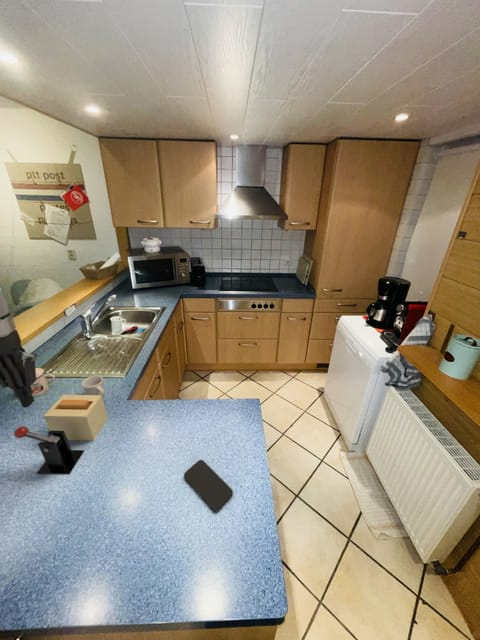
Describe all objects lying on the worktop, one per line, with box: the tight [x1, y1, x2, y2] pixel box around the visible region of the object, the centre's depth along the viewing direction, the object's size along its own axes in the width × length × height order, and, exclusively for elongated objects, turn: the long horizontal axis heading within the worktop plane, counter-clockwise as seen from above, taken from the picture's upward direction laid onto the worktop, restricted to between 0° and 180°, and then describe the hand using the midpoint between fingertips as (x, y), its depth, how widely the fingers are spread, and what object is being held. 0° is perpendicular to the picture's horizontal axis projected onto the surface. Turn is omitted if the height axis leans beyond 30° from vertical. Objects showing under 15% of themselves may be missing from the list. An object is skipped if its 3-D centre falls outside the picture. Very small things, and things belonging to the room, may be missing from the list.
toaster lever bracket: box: [35, 430, 85, 475], centre depth 77 cm, size 10×8×12 cm
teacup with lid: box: [31, 367, 56, 398], centre depth 108 cm, size 12×9×12 cm
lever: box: [13, 425, 61, 445], centre depth 74 cm, size 12×3×3 cm, turn 91°
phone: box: [183, 459, 234, 513], centre depth 74 cm, size 7×1×15 cm
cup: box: [81, 374, 106, 398], centre depth 105 cm, size 11×8×8 cm
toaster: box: [43, 394, 109, 441], centre depth 89 cm, size 14×10×12 cm
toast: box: [58, 400, 90, 410], centre depth 88 cm, size 9×2×11 cm, turn 90°
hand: (28, 403), depth 74 cm, fingers closed
